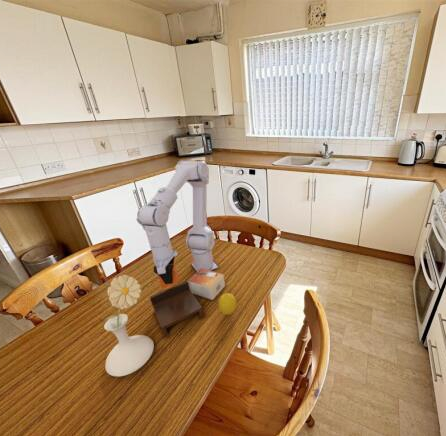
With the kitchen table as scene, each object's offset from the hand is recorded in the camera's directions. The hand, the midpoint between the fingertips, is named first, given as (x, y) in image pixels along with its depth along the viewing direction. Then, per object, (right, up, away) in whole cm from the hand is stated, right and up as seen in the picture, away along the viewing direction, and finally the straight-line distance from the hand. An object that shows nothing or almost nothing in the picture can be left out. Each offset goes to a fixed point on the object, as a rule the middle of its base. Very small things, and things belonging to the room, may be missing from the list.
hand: (169, 278), depth 78 cm
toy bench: (+3, -12, -1) cm, 12 cm away
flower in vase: (-4, -18, -13) cm, 23 cm away
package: (0, -1, +1) cm, 1 cm away
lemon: (+20, -11, -1) cm, 23 cm away
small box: (+15, -5, +7) cm, 17 cm away
